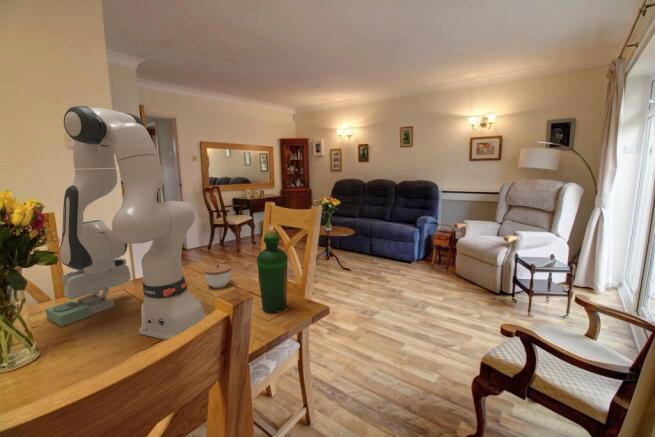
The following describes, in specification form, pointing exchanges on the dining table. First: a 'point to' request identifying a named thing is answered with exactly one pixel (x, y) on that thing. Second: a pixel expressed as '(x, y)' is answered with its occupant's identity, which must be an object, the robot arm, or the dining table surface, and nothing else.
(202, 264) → the dining table surface
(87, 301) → the grey rectangular block
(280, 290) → the bottle
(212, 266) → the lidded jar
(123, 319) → the dining table surface
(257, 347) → the dining table surface
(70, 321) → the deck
